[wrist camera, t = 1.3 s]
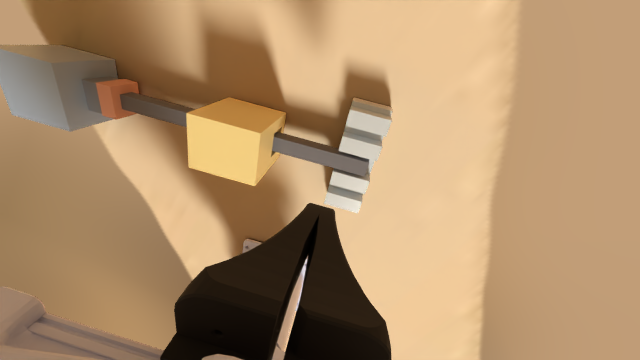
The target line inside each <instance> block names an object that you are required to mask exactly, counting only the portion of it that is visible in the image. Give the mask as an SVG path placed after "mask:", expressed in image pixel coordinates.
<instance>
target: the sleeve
mask: <svg viewBox="0 0 640 360" xmlns="http://www.w3.org/2000/svg"><path fill="white" fill-rule="evenodd" d="M186 118H187V143H188V167H189V168H192V169H196V170H199V171H203V172H206V173H210V174H213V175H217V176H220V177H224V178H227V179H231V180H234V181H238V182H241V183H245V184H248V185H252V186H256V184H257V183H258V182H259V181H260V179H261V178H262V177H263V176H264V175H265V173H266V172H267V171H268V170H269V168H270V167H271V166H272V165H273V164H274V162H275V161H276V160H277V159H278V157H279V156H280V153H278V152H274V151H272V146H273V139H274V134H275V133H276V132H280V133H283V131H284V125H285V118H286V113H285V112H282V111H278V110H274V109H271V108H267V107H263V106H260V105H256V104H252V103H248V102H245V101H241V100H237V99H234V98H230V97H228V98H226V99H223V100H220V101H218V102H215V103H212V104H209V105H207V106H204V107H201V108H199V109H196V110H193V111H190V112H188V113H186Z"/></svg>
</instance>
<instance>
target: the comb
mask: <svg viewBox="0 0 640 360" xmlns="http://www.w3.org/2000/svg"><path fill="white" fill-rule="evenodd" d="M391 114H392V108H391V107H389V106H385V105H382V104H378V103H374V102H370V101H366V100H363V99H359V98H355V97H354V98H353V101H352V104H351V108H350V111H349V115H348V118H347V122H346V126H345V130H344V133H343V136H342V140H341V144H340V147H339V151H341V152H345V153H348V154H352V155H356V156H359V157H363V158H366V159H369V165H368V168H367V171H366V174H365V177H364V176H361V175H357V174H353V173H350V172H346V171H343V170H339V169H335V168H334V169H333V173H332V176H331V180H330V183H329V187H328V191H327V194H326V198H325V201H324V204H327V205H330V206H334V207H337V208H341V209H344V210H348V211H351V212H355V213H358V212H359V209H360V206H361V204H362V195H363V194H365V193H366V190H367V187H368V184H369V182H370V172H371V170H372V167H373V164H374V161H377V160H378V157H379V154H380V152H381V149H382V139H383V136H385V137H386V135H387V133H388V130H389V127H390V124H391V122H392V119H391Z"/></svg>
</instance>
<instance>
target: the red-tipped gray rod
mask: <svg viewBox="0 0 640 360" xmlns="http://www.w3.org/2000/svg"><path fill="white" fill-rule="evenodd" d="M96 87H97V92H98V96H99V101H100V106H101V111H102V116H105V117H109V118H112V119H120V118H123V117H127V116H130V115H133V114H137V113H138V114H141V115H145V116H148V117H152V118H156V119H159V120H163V121H166V122H170V123H174V124H177V125H181V126H184V127H187V118H186V113H188V112H190V111H193V110H196V109H192V108H188V107H185V106H181V105H177V104H174V103H170V102H167V101H163V100H159V99H156V98H152V97H148V96H145V95H141V94H139V91H138V83H137V82H134V81H131V80H127V79H119V80H111V81H104V82H97V83H96ZM272 151H274V152H278V153H282V154H285V155H289V156H292V157H296V158H300V159H303V160H307V161H310V162H314V163H317V164H321V165H325V166H328V167H332V168H335V169H339V170H343V171H346V172H350V173H353V174H357V175H361V176H364V177H365V174H366V171H367V168H368V165H369V159H366V158H363V157H359V156H356V155H352V154H348V153H345V152H341V151H339V149H338V148H334V147H331V146H327V145H323V144H320V143H316V142H312V141H309V140H305V139H301V138H298V137H294V136H291V135H287V134H283V133H280V132H276V133H275V134H274V139H273V146H272Z"/></svg>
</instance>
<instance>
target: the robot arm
mask: <svg viewBox="0 0 640 360" xmlns="http://www.w3.org/2000/svg"><path fill="white" fill-rule="evenodd" d="M248 246H249V247H248ZM295 311H297V312H296V316H295V319H294V323H293V326H292V330H291V334H290V337H289V341H288V344H287V348H286V352H284V348H285V345H286V341H287V338H288V334H289V331H290V327H291V324H292V320H293V316H294V313H295ZM174 312H175V321H176V331H177V333H176V334H175V335H174V337H173V338H172V340H171V342H170V343H169V344H168V346H167V347H166V349H165V350H161V349H158V348H155V347H152V346H149V345H146V344H142V343H139V342H136V341H133V340H130V339H127V338H124V337H120V336H117V335H114V334H111V333H108V332H105V331H102V330H99V329H96V328H93V327H90V326H87V325H84V324H80V323H77V322H74V321H71V320H68V319H65V318H62V317H59V316H56V315H53V314H49V313H46V310H45V306H44V304H43V303H42V301H41V300H39V299H38V298H37V297H35V296H33V295H31V294H28V293H25V292H21V291H18V290H15V289H12V288H9V287H6V286H4V287H0V360H391V346H390V340H389V335H388V330H387V326H386V322H385V320H384V319H383V318H382V317H381V315H380V314H379V313H378V311H377V310H376V309H375V308H374V306H373V305H372V304H371V303H370V301H369V300H368V298H367V297H366V295H365V294H364V292H363V290H362V289H361V287H360V285H359V283H358V282H357V280H356V278H355V277H354V275H353V273H352V271H351V268H350V266H349V264H348V262H347V259H346V257H345V254H344V252H343V249H342V246H341V243H340V239H339V235H338V231H337V227H336V221H335V211H334V209H330V208H327V207H323V206H320V205H316V204H313V203H309V204H307V206H306V207H305V208H304V210H303V211H302V212H301V213H300V214H299V215H298V216H297V217H296V218H295V219H294V220H293V221H292V222H291V223H289V224H288V225H287V226H286V227H285V228H283V229H282V230H281V231H280V232H278V233H277V234H276V235H274V236H273V237H271V238H270V239H268V240H267V241H265V242H263V243H261V242H258V241H254V240H251V239H246V240H245V241H244V243H243V253H242V254H240V255H238V256H236V257H234V258H231V259H229V260H226V261H223V262H220V263H217V264H214V265H211V266H208V267H205V268H204V269H203V270H202V271H201V272H200V273H199V274H198V275H197V277H196V278H195V279H194V280H193V281H192V282H191V283H190V284H189V285H188V287H187V288H186V290H185V291H184V292H183V293H182V295H181V296H180V297H179V299H178V301H177V302H176V303H175V309H174Z"/></svg>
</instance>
